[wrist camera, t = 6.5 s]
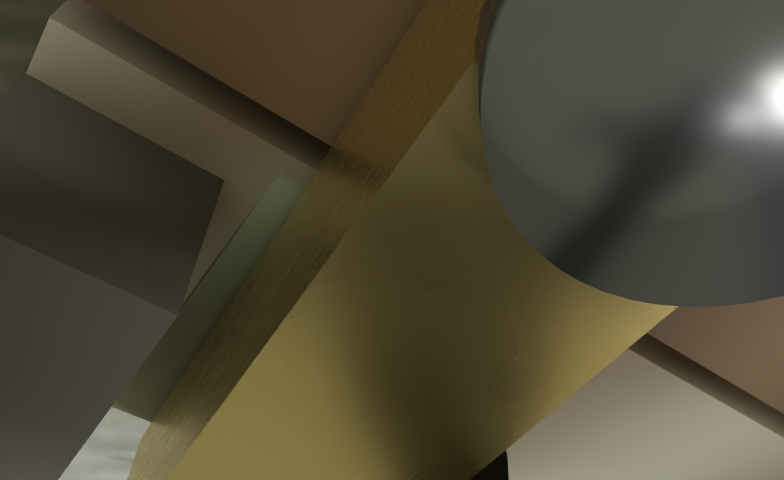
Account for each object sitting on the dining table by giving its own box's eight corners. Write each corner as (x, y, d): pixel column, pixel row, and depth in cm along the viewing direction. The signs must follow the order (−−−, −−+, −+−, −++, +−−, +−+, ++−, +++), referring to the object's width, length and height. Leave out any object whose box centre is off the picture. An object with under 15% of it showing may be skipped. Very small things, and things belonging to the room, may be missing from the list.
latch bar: (636, -395, 5) (816, -432, 3) (934, -116, 7) (1232, 10, 4) (123, 432, 12) (53, 625, 9) (320, 498, 13) (301, 686, 11)
